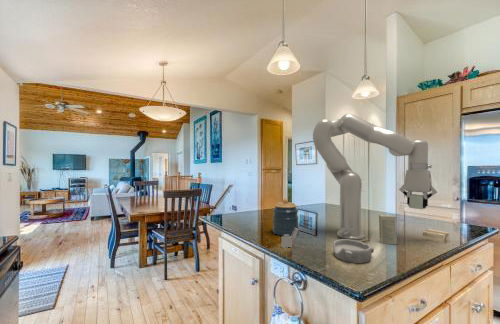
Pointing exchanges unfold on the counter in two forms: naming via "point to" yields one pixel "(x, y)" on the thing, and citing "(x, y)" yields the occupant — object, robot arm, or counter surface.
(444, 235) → the beech block
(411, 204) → the grey-green block
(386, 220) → the skincare box
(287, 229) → the canister
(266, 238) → the counter surface
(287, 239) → the lighter
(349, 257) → the dish
